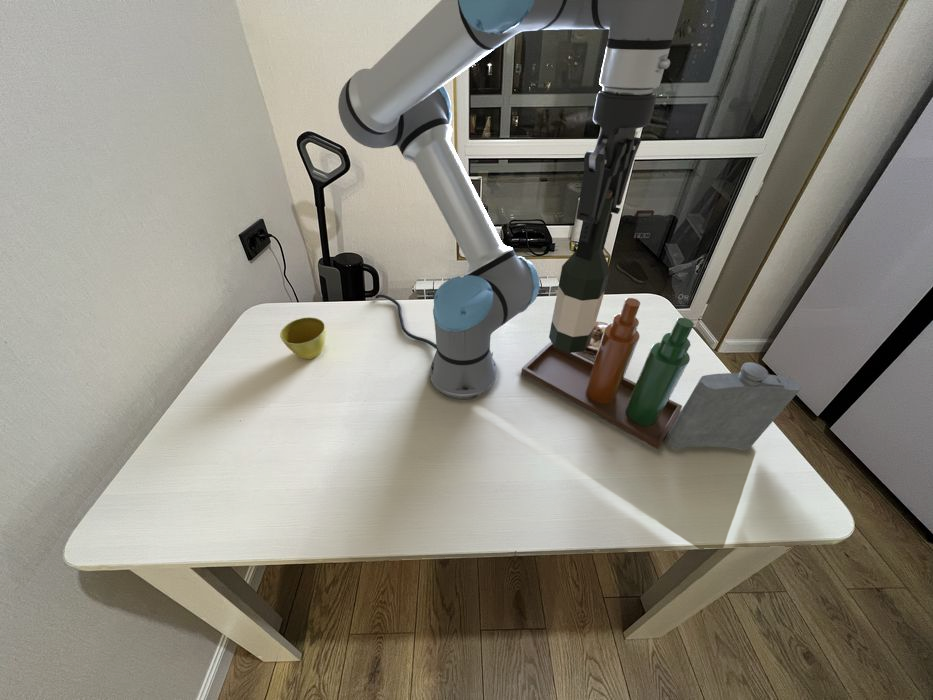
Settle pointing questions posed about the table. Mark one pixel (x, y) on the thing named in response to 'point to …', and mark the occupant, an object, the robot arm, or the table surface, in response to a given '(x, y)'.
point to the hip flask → (732, 408)
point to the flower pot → (304, 337)
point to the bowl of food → (596, 337)
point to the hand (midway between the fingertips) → (589, 253)
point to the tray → (571, 381)
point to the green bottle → (660, 375)
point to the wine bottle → (581, 293)
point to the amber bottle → (614, 354)
